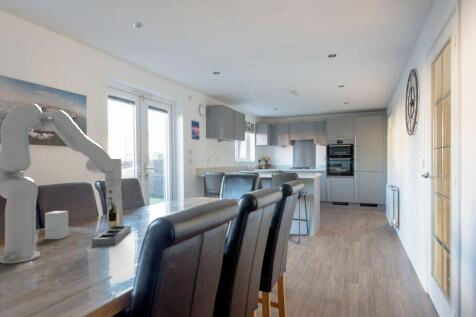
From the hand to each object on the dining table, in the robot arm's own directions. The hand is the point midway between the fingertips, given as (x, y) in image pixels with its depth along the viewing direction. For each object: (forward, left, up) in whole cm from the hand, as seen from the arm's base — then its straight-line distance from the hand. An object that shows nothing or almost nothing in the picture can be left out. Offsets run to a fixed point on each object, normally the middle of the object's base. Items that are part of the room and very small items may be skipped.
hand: (113, 219), depth 147 cm
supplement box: (+4, +28, -9) cm, 30 cm away
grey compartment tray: (0, 0, -9) cm, 9 cm away
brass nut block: (0, 0, -2) cm, 2 cm away
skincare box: (+20, +5, -9) cm, 23 cm away
